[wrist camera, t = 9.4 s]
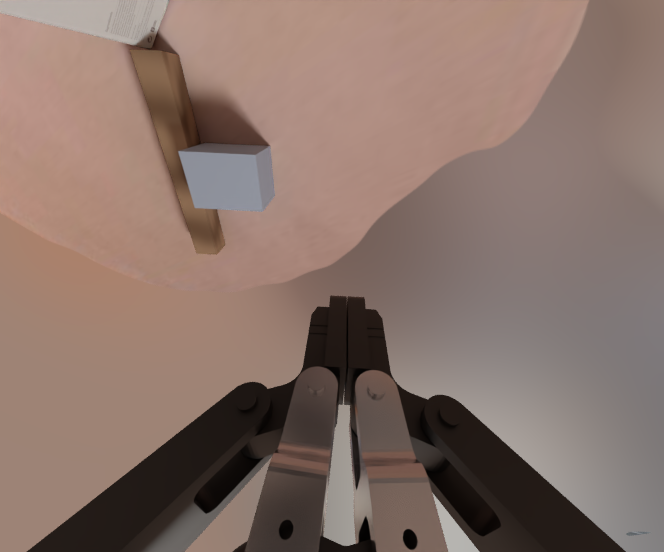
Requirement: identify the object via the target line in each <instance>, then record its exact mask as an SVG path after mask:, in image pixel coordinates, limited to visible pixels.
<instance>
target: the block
mask: <svg viewBox="0 0 664 552" xmlns="http://www.w3.org/2000/svg"><path fill="white" fill-rule="evenodd" d="M178 152H179V156H180V159H181V163H182V166H183V169H184V173H185V176H186V180H187V183H188V187H189V190H190V193H191V197H192V200H193V204H194V207H195V208H204V209H223V210H242V211H260V212H263V211H264V209H265V208H266V207H267V205H268V204H269V203H270V201H271V200H272V199H273V197H274V196H275V191H274V181H273V171H272V160H271V150H270V146H260V145H239V144H217V143H203V144H200V145H197V146H193V147H190V148H187V149H184V150H180V151H178Z"/></svg>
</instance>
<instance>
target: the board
mask: <svg viewBox="0 0 664 552" xmlns="http://www.w3.org/2000/svg"><path fill="white" fill-rule="evenodd" d="M130 52H131V55H132V58H133V61H134V65H135V68H136V71H137V74H138V77H139V80H140V83H141V86H142V89H143V92H144V95H145V98H146V101H147V104H148V107H149V110H150V113H151V116H152V119H153V122H154V125H155V128H156V131H157V134H158V138H159V141H160V144H161V147H162V150H163V153H164V156H165V159H166V162H167V165H168V168H169V171H170V174H171V177H172V180H173V183H174V186H175V189H176V192H177V195H178V198H179V201H180V204H181V207H182V210H183V214H184V217H185V220H186V223H187V226H188V229H189V232H190V235H191V238H192V241H193V244H194V247H195V250H196V253H198V254H218V253H219V252H220V250H221V249H222V248H223V247H224V246H225V241H224V237H223V233H222V229H221V225H220V221H219V217H218V213H217V209H204V208H195V207H194V204H193V200H192V197H191V193H190V190H189V187H188V183H187V180H186V176H185V173H184V169H183V166H182V163H181V159H180V156H179V152H178V151H180V150H184V149H187V148H190V147H193V146H197V145H200V144H201V143H200V139H199V135H198V131H197V127H196V123H195V119H194V115H193V111H192V107H191V103H190V99H189V95H188V91H187V87H186V83H185V78H184V74H183V70H182V66H181V62H180V58H179V55H176V54H173V53H169V52H165V51H161V50H130Z"/></svg>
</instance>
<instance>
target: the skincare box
mask: <svg viewBox="0 0 664 552" xmlns="http://www.w3.org/2000/svg"><path fill="white" fill-rule="evenodd" d="M168 3H169V0H0V13H2V14H6V15H10V16H14V17H18V18H23V19H27V20H31V21H35V22H39V23H43V24H47V25H52V26H56V27H60V28H64V29H68V30H72V31H77V32H81V33H85V34H89V35H93V36H97V37H101V38H105V39H109V40H113V41H118V42H122V43H126V44H130V45H134V46H138V47H142V48H147V49H151V48H152V46H153V43H154V40H155V37H156V34H157V31H158V29H159V26H160V23H161V21H162V18H163V16H164V14H165V11H166V8H167V5H168Z"/></svg>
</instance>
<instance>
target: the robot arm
mask: <svg viewBox="0 0 664 552" xmlns="http://www.w3.org/2000/svg"><path fill="white" fill-rule="evenodd" d="M329 306H330V307H317V308H316V310H315V311H314V312H313V314H312V316H311V322H310V327H309V335H308V340H307V345H306V351H305V358H304V364H303V368H302V370H301V372H300V374H299V375H298V376H297V377H296V378H295V379H294V380H293V381H291V382H289V383H287V384H285V385H282V386H278V387H274V388H270V389H267V388H266V387H265V386H264V385H263V384H261V383H257V382H249V383H244V384H242V385H240V386H238V387H236V388H235V389H234V390H232V391H231V392H230V393H229V394H227V395H226V396H225V397H224V398H222V399H221V400H220V401H219V402H217V403H216V404H215V405H213V406H212V407H211V408H210V409H208V410H207V411H206V412H204V413H203V414H202V415H201V416H199V417H198V418H197V419H195V420H194V421H193V422H192V423H190V424H189V425H188V426H187V427H185V428H184V429H183V430H181V431H180V432H179V433H178V434H176V435H175V436H174V437H172V438H171V439H170V440H169V441H167V442H166V443H165V444H164V445H162V446H161V447H160V448H158V449H157V450H156V451H155V452H154V453H152V454H151V455H150V456H148V457H147V458H146V459H144V460H143V461H142V462H141V463H139V464H138V465H137V466H136V467H134V468H133V469H132V470H130V471H129V472H128V473H127V474H125V475H124V476H123V477H122V478H120V479H119V480H118V481H116V482H115V483H114V484H113V485H111V486H110V487H109V488H107V489H106V490H105V491H104V492H102V493H101V494H100V495H98V496H97V497H96V498H95V499H93V500H92V501H91V502H90V503H88V504H87V505H86V506H84V507H83V508H82V509H81V510H80V511H78V512H77V513H76V514H74V515H73V516H72V517H71V518H69V519H68V520H67V521H65V522H64V523H63V524H62V525H60V526H59V527H58V528H57V529H55V530H54V531H53V532H51V533H50V534H49V535H48V536H46V537H45V538H44V539H42V540H41V541H40V542H39V543H37V544H36V545H35V546H34V547H32V548H31V549H30V550H28V551H27V552H185V550H186V549H187V548H188V547H189V546H190V545H191V544H192V543H193V542H194V541H195V540H196V539H197V537H198V536H199V535H200V534H201V533H202V532H203V531H204V530H205V529H206V528H207V527H208V525H209V524H210V523H211V522H212V521H213V520H214V519H215V518H216V517H217V516H218V515H219V513H220V512H221V511H222V510H223V509H224V508H225V507H226V506H227V505H228V504H229V503H230V501H231V500H232V499H233V498H234V497H235V496H236V495H237V494H238V493H239V492H240V491H241V490H242V489H243V487H244V486H245V485H246V484H247V483H248V482H249V481H250V480H251V479H252V478H253V477H254V475H255V474H256V473H257V472H258V471H259V470H260V469H261V468H262V467H263V466H264V465H265V463H266V462H267V461H268V460H269V459H270V458H271V457H272V458H271V461H270V464H269V467H268V470H267V474H266V477H265V481H264V485H263V488H262V492H261V495H260V499H259V503H258V506H257V510H256V513H255V517H254V521H253V524H252V528H251V531H250V535H249V538H248V541H247V542H245V543H244V544H242V545H241V546H239V547H238V548H237V549H235V550H234V551H233V552H448V549H447V545H446V542H445V538H444V534H443V531H442V528H441V523H440V520H439V516H438V513H437V509H436V505H435V501H434V498H433V494H434V495H435V496H436V497H437V499H438V500H439V501H440V502H441V504H442V505H443V506H444V507H445V509H446V510H447V511H448V512H449V514H450V515H451V516H452V517H453V519H454V520H455V521H456V523H457V524H458V525H459V526H460V528H461V529H462V530H463V531H464V533H465V534H466V535H467V536H468V538H469V539H470V540H471V541H472V543H473V544H474V545H475V546H476V548H477V549H478V550H479V551H480V552H626V551H624V550H623V549H622V548H621V547H620V546H619V545H618V544H617V543H615V542H614V541H613V540H612V539H611V538H610V537H609V536H607V534H606V533H604V532H603V531H602V530H601V529H600V528H599V527H597V526H596V525H595V524H594V523H593V522H592V521H591V520H590V519H589V518H588V517H587V516H585V515H584V514H583V513H582V512H581V511H580V510H579V509H578V508H577V507H575V506H574V505H573V504H572V503H571V502H570V501H569V500H567V498H565V497H564V496H563V495H562V494H561V493H560V492H559V491H558V490H556V489H555V488H554V487H553V486H552V485H551V484H550V483H549V482H547V480H545V479H544V478H543V477H542V476H541V475H540V474H539V473H538V472H537V471H535V470H534V469H533V468H532V467H531V466H530V465H529V464H528V463H527V462H525V461H524V460H523V459H522V458H521V457H520V456H519V455H518V454H516V453H515V452H514V451H513V450H512V449H511V448H510V447H509V446H508V445H507V444H505V443H504V442H503V441H502V440H501V439H500V438H499V437H498V436H497V435H495V434H494V433H493V432H492V431H491V430H490V429H489V428H487V426H485V425H484V424H483V423H482V422H481V421H480V420H479V419H478V418H477V417H475V416H474V415H473V414H472V413H471V412H470V411H469V410H468V409H466V408H465V407H464V406H463V405H462V404H461V403H459V402H458V401H457V400H455V399H453V398H451V397H449V396H445V395H435V396H432V397H431V398H429V399H428V400H427V399H425V398H422V397H419V396H417V395H414V394H411V393H409V392H407V391H406V390H404V389H402V388H401V387H400V386H399V385H398V384H397V383H396V382H395V380H394V379H393V377H392V375H391V372H390V366H389V360H388V354H387V347H386V341H385V334H384V328H383V321H382V318H381V316H380V315H379V314H378V312H377V311H376V310H371V309H365V299H364V297H349V296H348V299H347V298H346V296H330V305H329ZM344 390H345V391H344ZM343 395H344V404H345V405H350V424H349V432H350V445H351V458H352V471H353V485H354V523H355V537H356V544H353V545H350V546H342V545H340V544H338V543H336V542H334V541H331V540H329V539H327V538H325V537H323V533H324V524H325V515H326V505H327V495H328V485H329V476H330V467H331V457H332V449H333V439H334V430H335V427H336V424H337V417H338V405H339V404H341V405H342V404H343ZM432 492H433V494H432Z"/></svg>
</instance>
